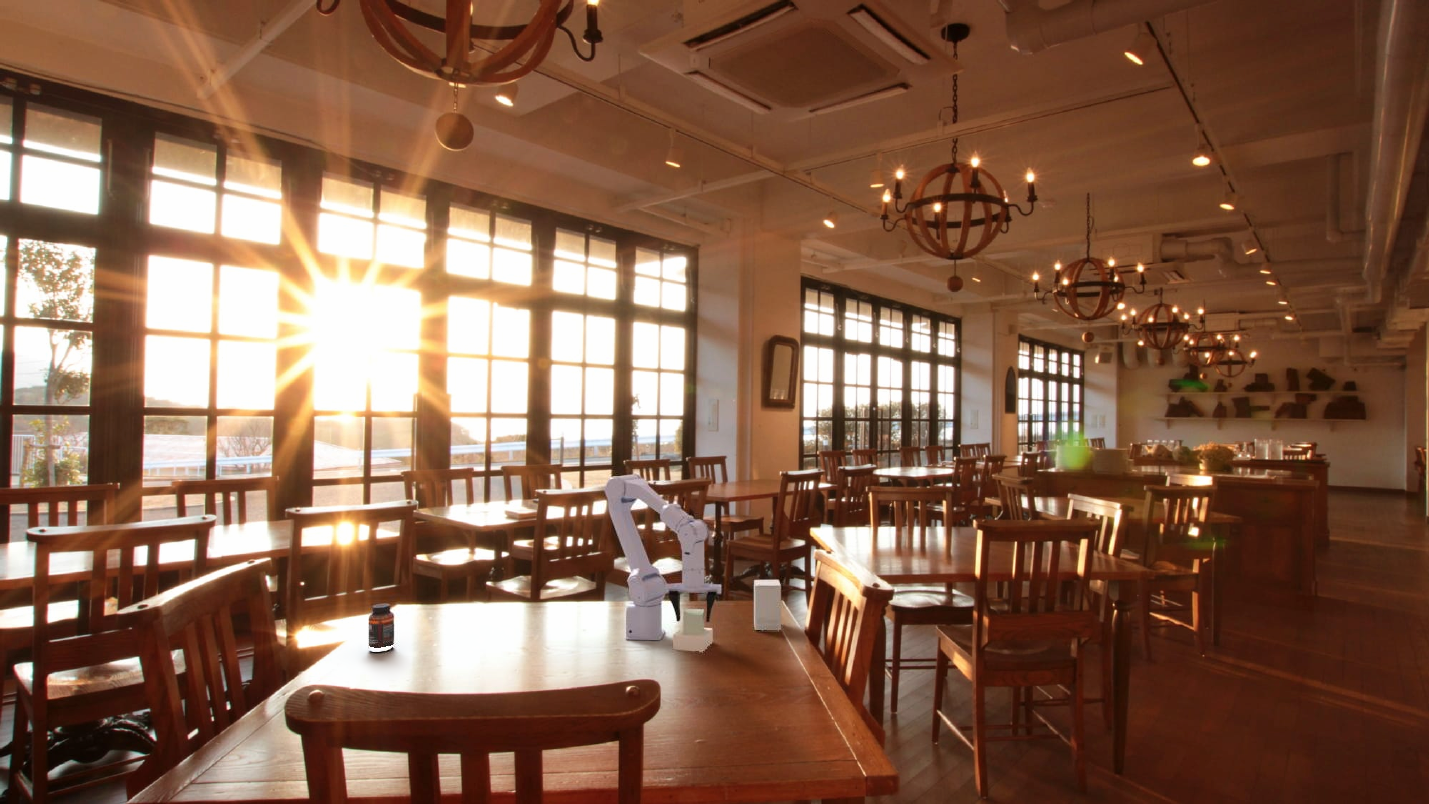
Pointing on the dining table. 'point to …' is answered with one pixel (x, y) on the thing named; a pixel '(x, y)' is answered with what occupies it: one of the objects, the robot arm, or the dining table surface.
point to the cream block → (693, 640)
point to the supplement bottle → (381, 626)
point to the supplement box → (767, 605)
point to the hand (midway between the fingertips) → (693, 620)
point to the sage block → (693, 621)
